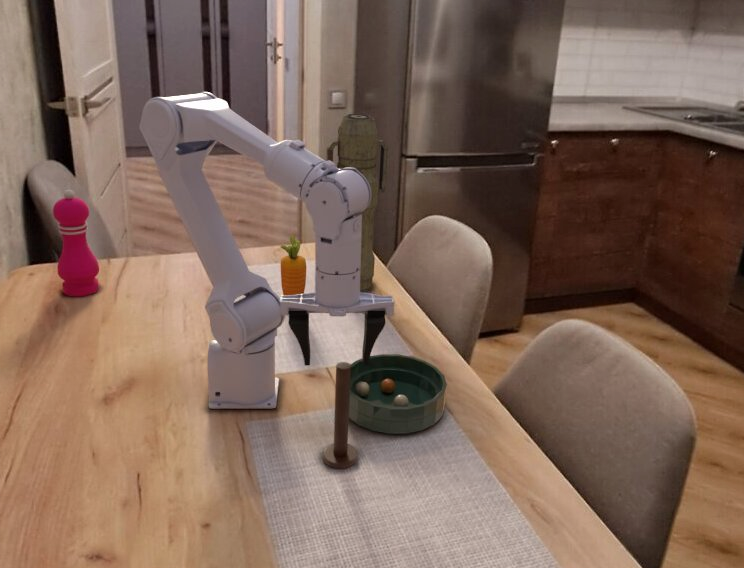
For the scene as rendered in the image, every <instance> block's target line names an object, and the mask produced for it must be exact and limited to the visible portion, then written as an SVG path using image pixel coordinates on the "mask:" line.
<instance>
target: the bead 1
mask: <svg viewBox="0 0 744 568" xmlns="http://www.w3.org/2000/svg"><path fill="white" fill-rule="evenodd" d="M369 390H370V388H369V385H368V384H367V383H366V382H359V383H357V384H356V386H355V392H356V394H357V395H359V396H366V395H367V394H368V393H369Z"/></svg>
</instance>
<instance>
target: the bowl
mask: <svg viewBox="0 0 744 568" xmlns="http://www.w3.org/2000/svg"><path fill="white" fill-rule="evenodd" d="M350 365H351V377H350V401H349V420H351V421H352V422H354V423H355V424H356V425H358V426H361V427H362V428H365V429H367V430H371V431H373V432H378V433H379V432H380V433H384V434H393V435H394V434H411V433H415V432H420V431H422V430H425V429H427V428H430V427H431V426H434V425H436V423H437V422H438V421H440V419H441V418H442V417H443V415H444V412H445V408H446V398H447V389H448V382H447V380H446V376H445V375H444V373H443V372H442V371H441V370H440V369H439V368H438V367H437V366H435V365H434V364H432V363H430V362H429V361H426V360H423V359H421V358H418V357H415V356H411V355H404V354H397V353H380V354H373V355H370V358H369V363H368V365H363V359H362V358H359V359H357V360H355V361H354V362H352V363H350ZM385 379H391V380H393V381H394V383H395V389H394V391H393V392H391V393H385V392H383V391H382V389H381V383H382V381H383V380H385ZM359 382H366V383H367V384H368V385H369V388H370V390H369V393H368V394H367V395H366V396H359V395H357V394H356V392H355V386H356V384H357V383H359ZM397 395H405V396H406V397H407V398H408V401H409V403H408V406H407V407H395V406H394V403H393V402H394V398H395V397H396V396H397Z"/></svg>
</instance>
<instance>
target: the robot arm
mask: <svg viewBox="0 0 744 568" xmlns="http://www.w3.org/2000/svg"><path fill="white" fill-rule="evenodd" d="M138 128H139V130H140V133H141V134H142V136H143V139H144V141H145V143H146V145H147V148H148V149H149V151H150V154H151V155H152V157H153V160H154V162H155V166H156V169H157V172H158V175H159V177H160V179H161V181H162V183H163V185H164V187H165V189H166V192H167V193H168V196H169V198H170V200H171V203H172V204H173V206H174V208H175V210H176V212H177V215H178V217H179V218H180V221H181V223H182V225H183V227H184V229H185V231H186V233H187V236H188V238H189V240H190V243H191V244H192V246H193V248H194V251H195V253H196V255H197V256H198V259H199V260H200V263H201V265H202V267H203V269H204V271H205V273H206V275H207V277H208V279H209V281H210V283H211V286H212V290H211V292H210V293H209V296H208V297H207V300H206V303H205V305H204V309H205V311H206V313H207V316H208V319H209V324H210V326H209V327H210V332H211V334H212V336H213V338H214V339H211V340H210V342H209V345H208V351H207V385H208V408H209V409H213V410H214V409H215V410H216V409H220V410H221V409H226V410H227V409H231V410H234V409H236V410H237V409H241V410H242V409H246V410H247V409H249V410H251V409H252V410H253V409H255V410H256V409H259V410H260V409H276V408H277V402H278V395H279V387H280V378H279V377H276V342H275V340H276V339H275V338H276V337H277V336H278V328H280V327H281V326H282V325H283V324H284V322H285V319H286V316H288V326H289V328H290V330H291V331H292V333H293V335H294V337H295V339H296V341H297V342H298V345H299V347H300V350H301V353H302V357H303V362H304V366H311V344H310V342H311V341H310V314H328V315H329V316H330V317H345V316H347V314H364V321H363V322H364V326H363V328H364V329H363V330H364V331H363V341H362V342H363V343H362V352H361V357H362V358H361V359H363V365H368V363H369V358H370V356H371V354H372V351H373V348H374V346H375V344H376V341H377V339H378V338H379V336H380V334H381V332H382V331H383V330H384V328H385V326H386V320H387V319H386V316H394V314H395V299H394V296H393V295H381V294H376V293H374V294H373V293H368V292H364V293H361V292H360V269H361V234H362V214H359V213H361V212H362V211H364V210H365V209H366V208H367V207H368V205H369V203H370V200H371V188H370V185H369V183H368V181H367V179H366V178H365V177H364V176H363V175H362V174H361V173H360V172H359V171H358V170H357V169H355V168H351V167H347V168H343V169H339V168H337V166H336V163H335V162H334V161H333V162H332V161H330V160H328V161H326V159H323V158H322V157H320V156H319V155H316V154H315V153H313V152H312V151H310V150H308V149H307V148H306V143H305V142H303V141H302V140H300V139H295V140H291V139H284V140H282V141H279V142H277V141H276V140H274V139H273V138H272V137H271V136H269V135H268V134H266V133H265V132H263V131H262V130H260V129H259V128H258V127H256V126H255V125H253V124H252V123H250V122H249V121H247V120H246V119H245V118H244V117H243V116H241V115H239V114H238V113H236V112H235V111H234V110H232V109H231V108H230V106H229V104H228V101H226V100H225V99H222V98H218V97H217V96H216V95H215V94H214V93H211V92H208V91H202V92H198V93H192V94H183V95H174V96H165V97H163V96H155V97H152V98H150V99H148V100H147V101H146V103H144V105H143V109H142V112H141V118H140V121H139V127H138ZM217 143H220V144H222V145H224V146H225V147H227V148H229V149H231V150H233V151H235V152H237V153H239V154H240V155H242V156H244V157H246V158H248V159H249V160H252V161H253V162H255V163H257V164H259V165H260V166H263V172H264V175H265V177H266V179H267V180H268V181H270V182H271V183H272V184H274V185H276V186H277V187H279V188H281V189H282V190H284V191H285V192H287V193H288V194H290V195H291V196H293V197H295V198H296V199H298V200H300V201H301V202H303V204H304V205H305V208H306V211H307V212H308V214H309V216H310V218H311V220H312V230H313V232H314V292H313V291H312V292H304V294H297V295H285V296H284V295H280V296H279V295H278V294H277V293H276V292H275V291H274V290H273V289H272V287H271V286H270V283H269V282H268V279H267V278H266V277H264V276H261V275H259V274H258V273H254V272H252V271H250V269H249V267H248V265H247V263H246V260H245V259H244V257H243V254H242V252H241V250H240V249H239V246H238V244H237V242H236V240H235V237H234V236H233V234H232V233H233V232H232V231H231V229H230V227H229V225H228V223H227V220H226V218H225V216H224V214H223V212H222V210H221V208H220V206H219V204H218V201H217V199H216V196H215V195H214V192H213V191H212V188H211V187H210V185H209V182H208V180H207V178H206V176H205V174H204V171H203V165H204V163H205V160H206V158H207V157H208V156H209V155H210V153H211V151H212V149H214V147H215V145H216V144H217ZM357 214H359V215H357ZM355 215H357V216H355ZM242 296H244V297H243V298H241V299H238V298H240V297H242ZM237 299H238V300H237ZM236 300H237V301H236Z"/></svg>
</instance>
